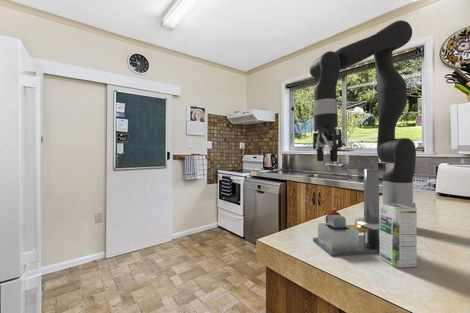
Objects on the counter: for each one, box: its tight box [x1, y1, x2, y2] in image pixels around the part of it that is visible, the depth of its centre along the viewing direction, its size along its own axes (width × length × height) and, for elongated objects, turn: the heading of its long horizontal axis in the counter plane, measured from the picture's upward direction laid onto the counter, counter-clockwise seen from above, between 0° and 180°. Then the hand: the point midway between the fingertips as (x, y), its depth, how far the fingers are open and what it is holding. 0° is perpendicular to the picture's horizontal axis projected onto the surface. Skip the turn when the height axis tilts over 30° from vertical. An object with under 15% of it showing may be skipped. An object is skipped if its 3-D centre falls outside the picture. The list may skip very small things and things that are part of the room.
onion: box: [325, 208, 342, 223], centre depth 82 cm, size 6×6×8 cm
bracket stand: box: [312, 168, 380, 257], centre depth 68 cm, size 20×11×23 cm, turn 96°
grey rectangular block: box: [328, 214, 347, 230], centre depth 68 cm, size 4×4×8 cm
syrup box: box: [379, 203, 418, 269], centre depth 57 cm, size 6×6×14 cm
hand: (326, 161), depth 78 cm, fingers open, 8 cm apart
